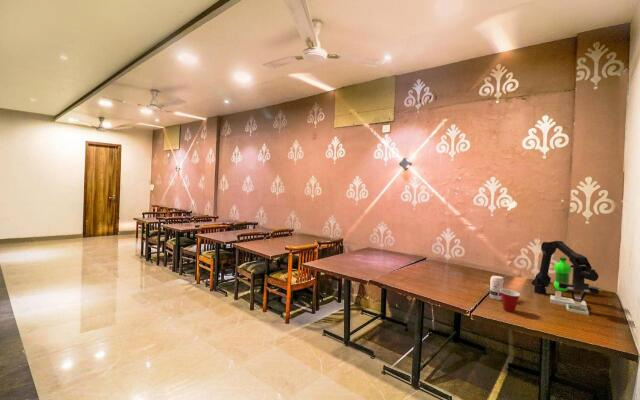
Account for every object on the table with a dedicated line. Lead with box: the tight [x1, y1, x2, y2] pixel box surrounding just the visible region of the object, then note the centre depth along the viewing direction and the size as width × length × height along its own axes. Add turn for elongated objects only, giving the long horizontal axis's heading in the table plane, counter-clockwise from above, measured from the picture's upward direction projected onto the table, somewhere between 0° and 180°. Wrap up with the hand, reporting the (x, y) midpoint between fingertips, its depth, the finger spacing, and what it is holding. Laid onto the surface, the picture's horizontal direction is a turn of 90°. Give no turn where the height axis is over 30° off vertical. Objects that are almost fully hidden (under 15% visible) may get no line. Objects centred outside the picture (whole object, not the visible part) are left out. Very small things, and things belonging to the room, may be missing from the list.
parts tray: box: [565, 304, 590, 316], centre depth 189 cm, size 10×10×2 cm
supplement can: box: [489, 275, 505, 301], centre depth 210 cm, size 8×8×15 cm
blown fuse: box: [574, 293, 581, 309], centre depth 189 cm, size 3×3×7 cm
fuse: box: [554, 290, 562, 300], centre depth 202 cm, size 3×3×7 cm
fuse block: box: [549, 294, 588, 308], centre depth 200 cm, size 18×10×4 cm, turn 54°
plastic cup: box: [500, 288, 521, 313], centre depth 189 cm, size 11×11×12 cm
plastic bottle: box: [553, 256, 572, 293], centre depth 230 cm, size 10×10×25 cm
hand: (577, 301), depth 189 cm, fingers closed on blown fuse, 3 cm apart
